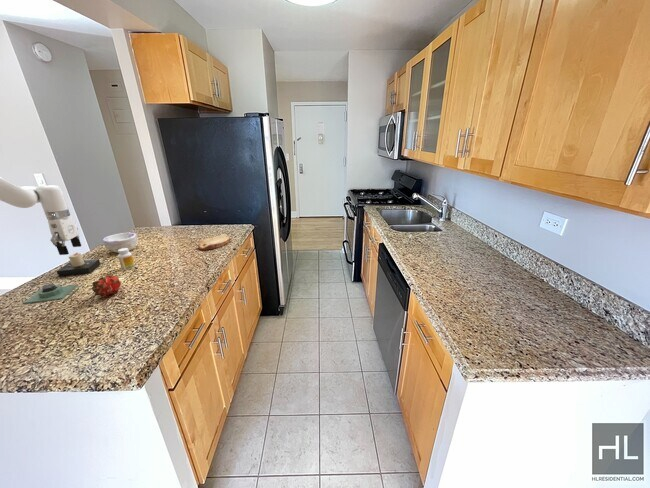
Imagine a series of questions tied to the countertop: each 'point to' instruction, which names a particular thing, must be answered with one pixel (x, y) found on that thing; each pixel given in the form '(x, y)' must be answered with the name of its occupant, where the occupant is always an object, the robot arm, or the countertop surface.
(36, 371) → the countertop surface
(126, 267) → the supplement bottle
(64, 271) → the panel
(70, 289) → the button box
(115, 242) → the paper bowls
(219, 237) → the bread slice
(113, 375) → the countertop surface
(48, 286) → the button
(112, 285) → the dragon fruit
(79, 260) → the knob
